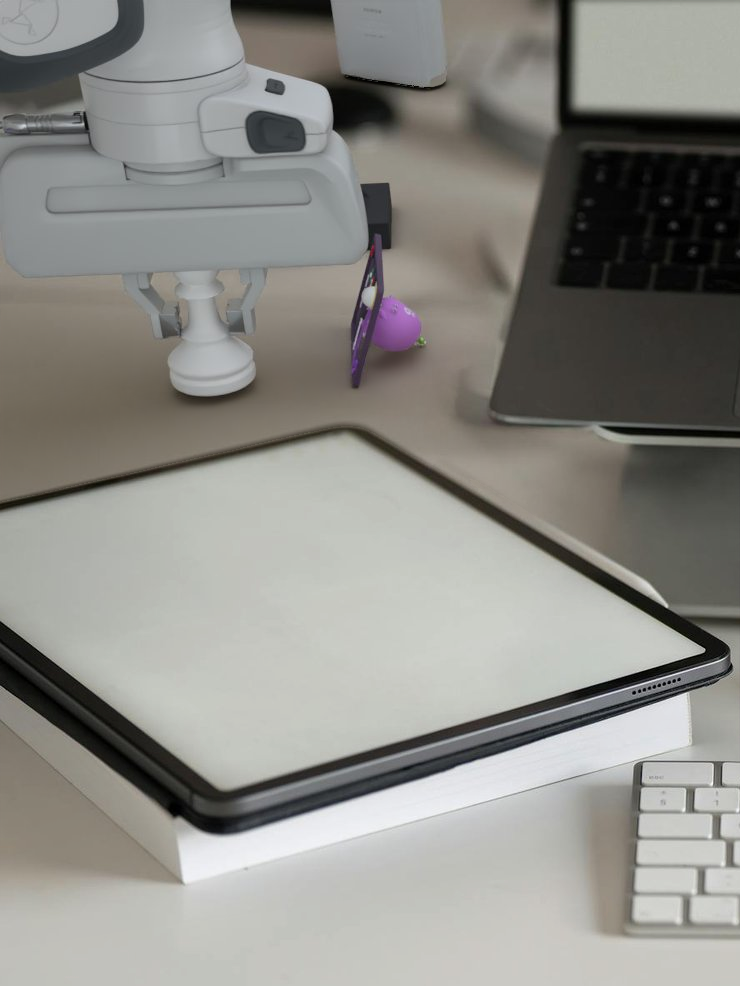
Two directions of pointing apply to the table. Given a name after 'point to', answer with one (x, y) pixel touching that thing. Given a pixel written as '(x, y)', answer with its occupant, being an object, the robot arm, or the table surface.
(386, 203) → the socket pad
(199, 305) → the chess pawn
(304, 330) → the table surface
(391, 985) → the table surface
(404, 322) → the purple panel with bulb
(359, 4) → the photo printer
